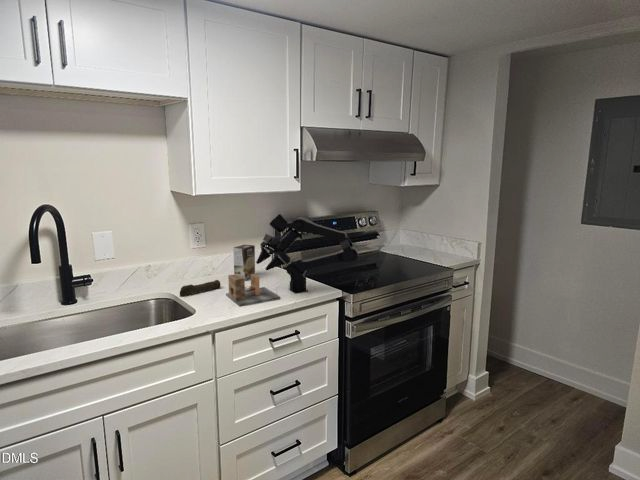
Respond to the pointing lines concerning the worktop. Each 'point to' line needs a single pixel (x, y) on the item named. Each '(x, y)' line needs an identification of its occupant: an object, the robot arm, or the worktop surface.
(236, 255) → the coffee box
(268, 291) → the wooden block on baseplate
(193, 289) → the dark brown rounded bar
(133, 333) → the worktop surface
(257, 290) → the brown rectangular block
